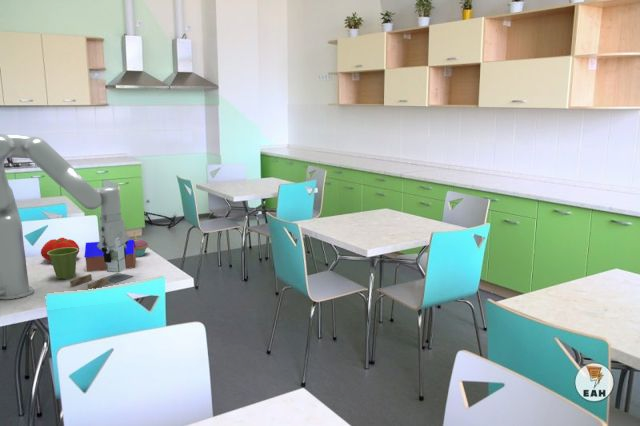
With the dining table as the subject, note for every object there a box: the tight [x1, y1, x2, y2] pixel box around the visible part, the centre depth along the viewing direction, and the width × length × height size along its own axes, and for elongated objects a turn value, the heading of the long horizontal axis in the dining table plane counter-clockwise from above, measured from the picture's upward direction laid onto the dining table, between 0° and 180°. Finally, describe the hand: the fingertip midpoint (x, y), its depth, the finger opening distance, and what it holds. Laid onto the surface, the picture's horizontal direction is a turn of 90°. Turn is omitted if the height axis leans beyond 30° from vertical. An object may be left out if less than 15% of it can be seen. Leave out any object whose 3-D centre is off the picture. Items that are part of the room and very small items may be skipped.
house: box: [84, 239, 137, 272], centre depth 243 cm, size 12×20×12 cm, turn 104°
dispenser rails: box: [69, 273, 110, 290], centre depth 218 cm, size 10×11×2 cm
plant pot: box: [47, 247, 80, 280], centre depth 228 cm, size 12×12×11 cm
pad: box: [99, 272, 134, 284], centre depth 227 cm, size 9×9×1 cm
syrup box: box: [104, 237, 127, 273], centre depth 225 cm, size 6×6×14 cm
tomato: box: [40, 237, 80, 263], centre depth 252 cm, size 14×16×10 cm
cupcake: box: [133, 230, 149, 257], centre depth 260 cm, size 9×8×12 cm
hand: (115, 259), depth 225 cm, fingers closed on syrup box, 7 cm apart
